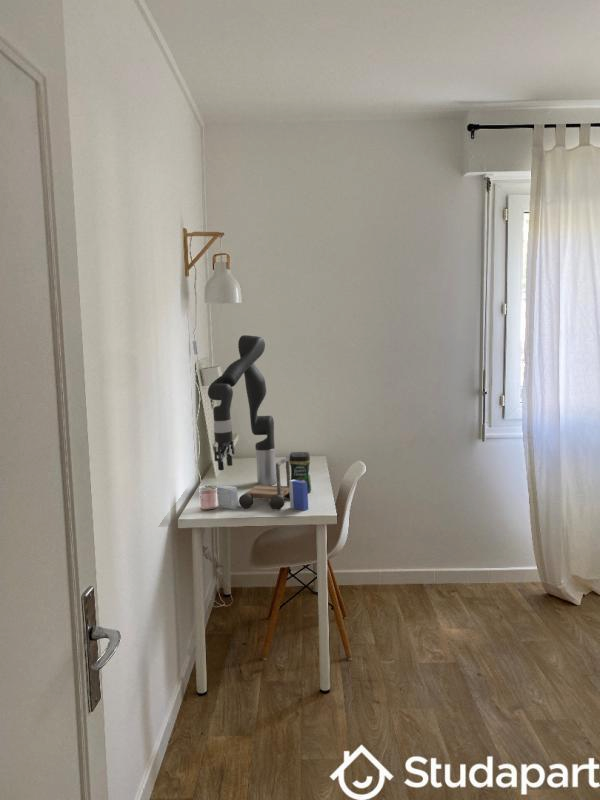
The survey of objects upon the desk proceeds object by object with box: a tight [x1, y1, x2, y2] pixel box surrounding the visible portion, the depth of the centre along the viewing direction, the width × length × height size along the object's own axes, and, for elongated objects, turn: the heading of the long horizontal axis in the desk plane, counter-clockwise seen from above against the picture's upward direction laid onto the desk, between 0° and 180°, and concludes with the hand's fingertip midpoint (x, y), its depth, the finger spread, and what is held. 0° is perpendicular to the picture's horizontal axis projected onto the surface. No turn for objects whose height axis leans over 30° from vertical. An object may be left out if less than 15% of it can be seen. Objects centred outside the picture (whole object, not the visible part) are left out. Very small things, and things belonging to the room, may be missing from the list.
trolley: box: [238, 456, 291, 511], centre depth 281 cm, size 18×20×19 cm
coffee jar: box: [289, 451, 312, 494], centre depth 297 cm, size 10×8×19 cm
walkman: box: [289, 479, 309, 511], centre depth 271 cm, size 8×3×12 cm, turn 47°
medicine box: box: [216, 485, 239, 510], centre depth 279 cm, size 8×4×9 cm, turn 54°
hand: (225, 467), depth 278 cm, fingers open, 8 cm apart
